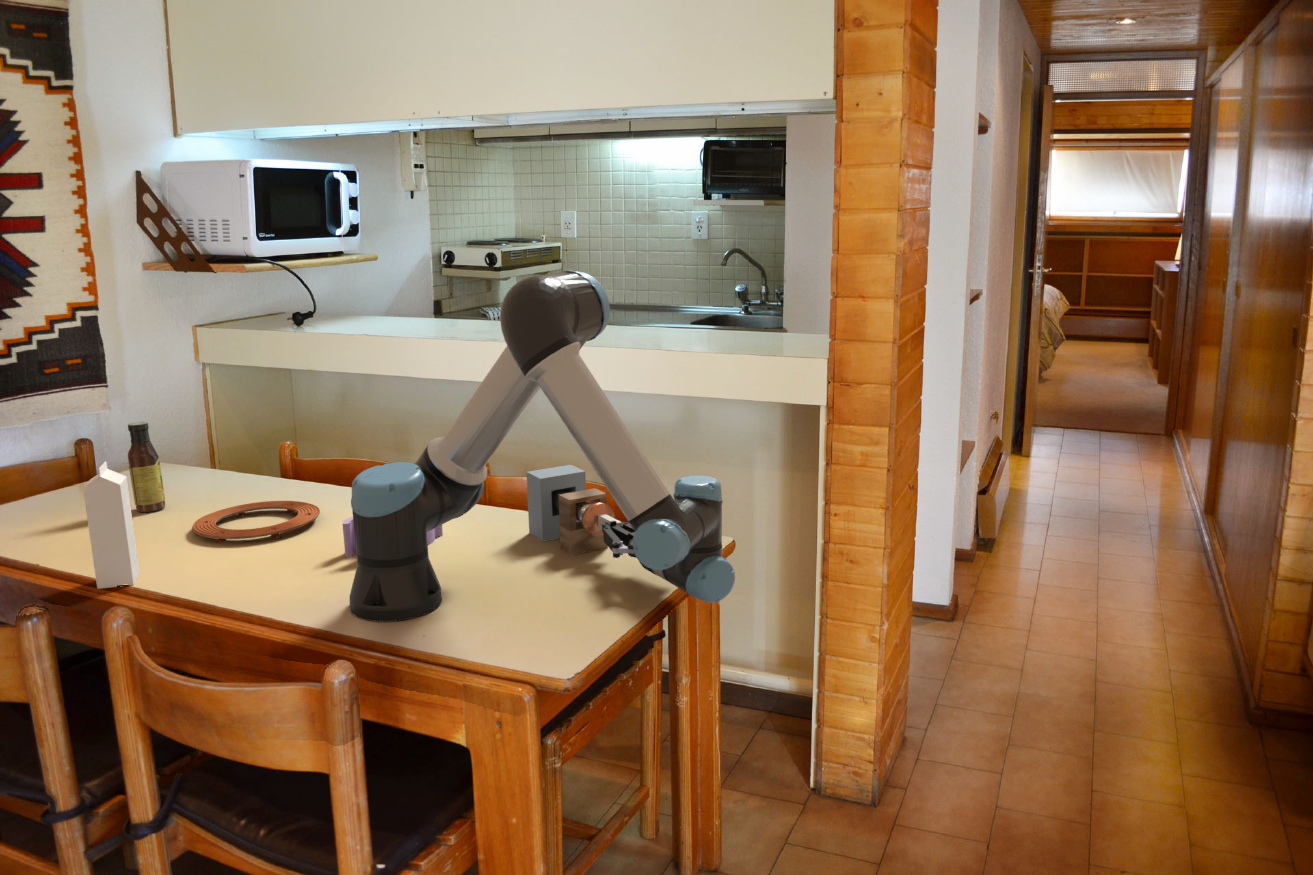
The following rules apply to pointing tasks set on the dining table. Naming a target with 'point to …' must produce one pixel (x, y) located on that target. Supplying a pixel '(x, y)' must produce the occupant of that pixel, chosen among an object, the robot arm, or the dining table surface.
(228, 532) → the ring
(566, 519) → the sleeve
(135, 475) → the sauce bottle
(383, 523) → the robot arm
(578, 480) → the socket block
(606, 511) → the pin
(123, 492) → the milk
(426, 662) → the dining table surface
